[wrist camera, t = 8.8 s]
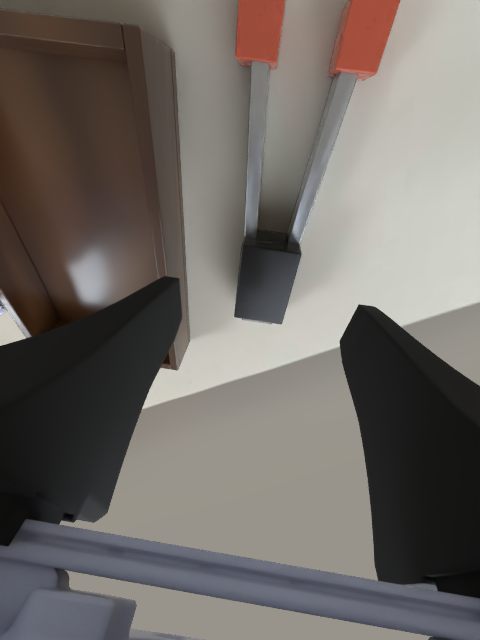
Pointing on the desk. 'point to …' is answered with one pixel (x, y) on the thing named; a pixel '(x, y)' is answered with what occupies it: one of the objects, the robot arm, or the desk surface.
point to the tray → (87, 170)
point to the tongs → (346, 67)
